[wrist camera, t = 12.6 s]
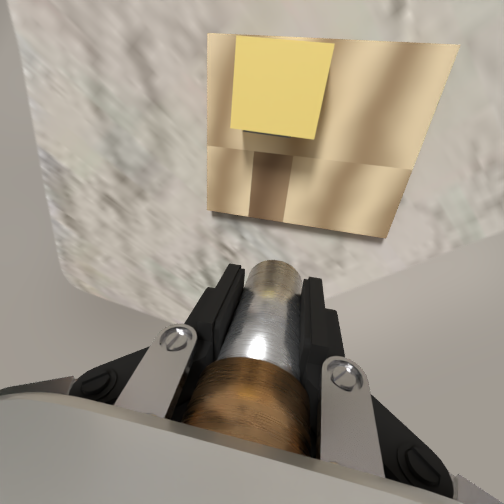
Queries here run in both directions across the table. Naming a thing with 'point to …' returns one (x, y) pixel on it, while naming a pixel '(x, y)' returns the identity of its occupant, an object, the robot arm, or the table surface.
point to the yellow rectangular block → (279, 86)
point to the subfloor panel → (329, 138)
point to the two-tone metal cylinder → (259, 368)
